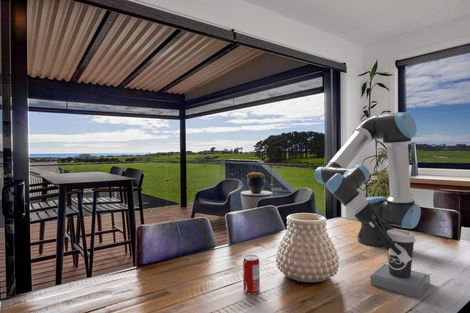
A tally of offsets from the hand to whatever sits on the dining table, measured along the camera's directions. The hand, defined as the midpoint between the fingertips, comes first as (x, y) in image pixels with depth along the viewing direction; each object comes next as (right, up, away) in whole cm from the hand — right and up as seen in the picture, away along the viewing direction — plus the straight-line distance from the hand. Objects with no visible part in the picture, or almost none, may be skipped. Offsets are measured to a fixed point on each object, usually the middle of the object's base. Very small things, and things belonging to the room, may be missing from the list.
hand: (407, 254), depth 103 cm
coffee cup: (-2, -8, +1) cm, 8 cm away
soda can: (-55, -12, -3) cm, 56 cm away
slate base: (-2, -11, +1) cm, 11 cm away
